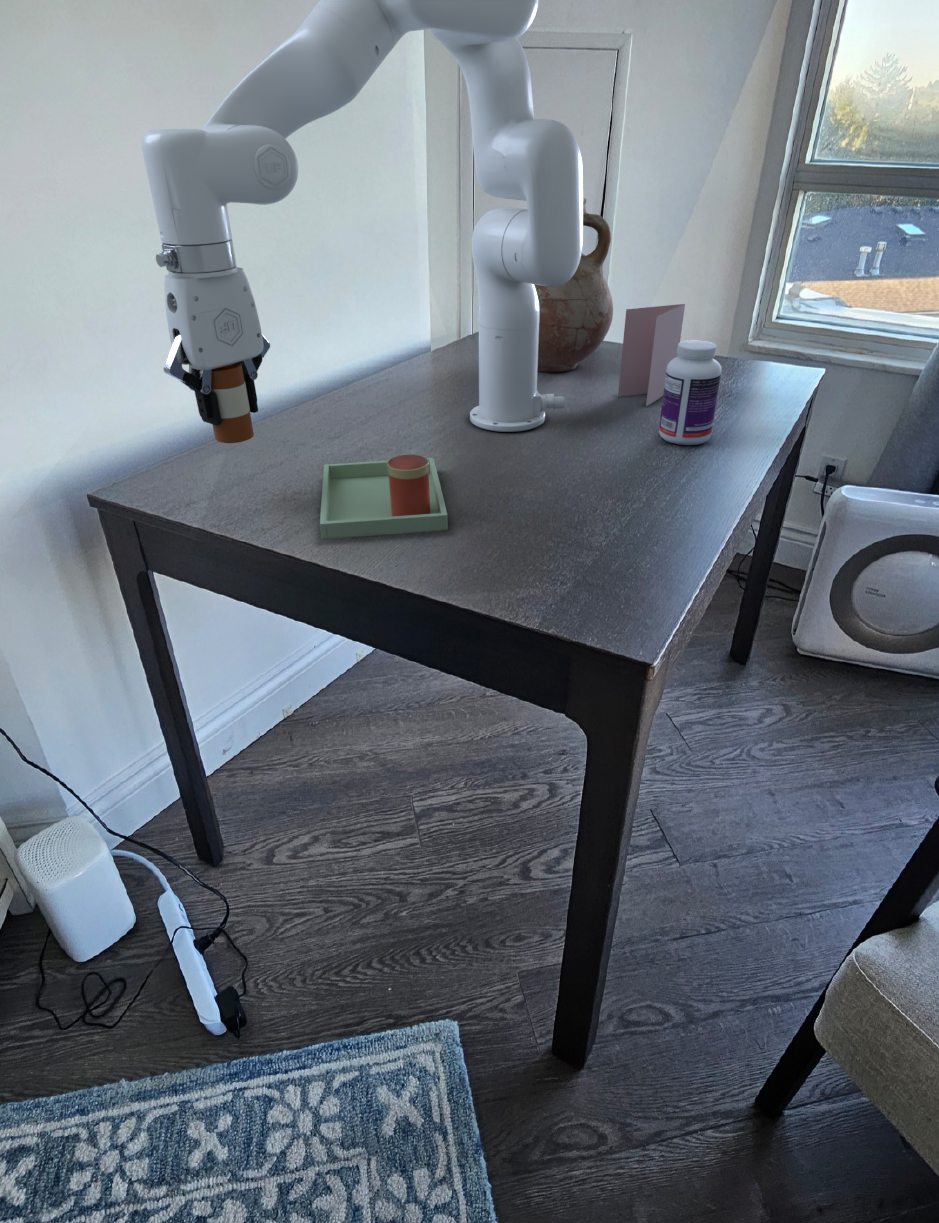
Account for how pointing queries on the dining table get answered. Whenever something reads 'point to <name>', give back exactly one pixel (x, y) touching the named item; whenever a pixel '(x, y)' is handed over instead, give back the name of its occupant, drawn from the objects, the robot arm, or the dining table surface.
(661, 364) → the greeting card
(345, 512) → the tray
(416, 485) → the tea tin
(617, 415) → the dining table surface
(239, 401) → the spice bottle
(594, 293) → the jug
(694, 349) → the pill bottle
